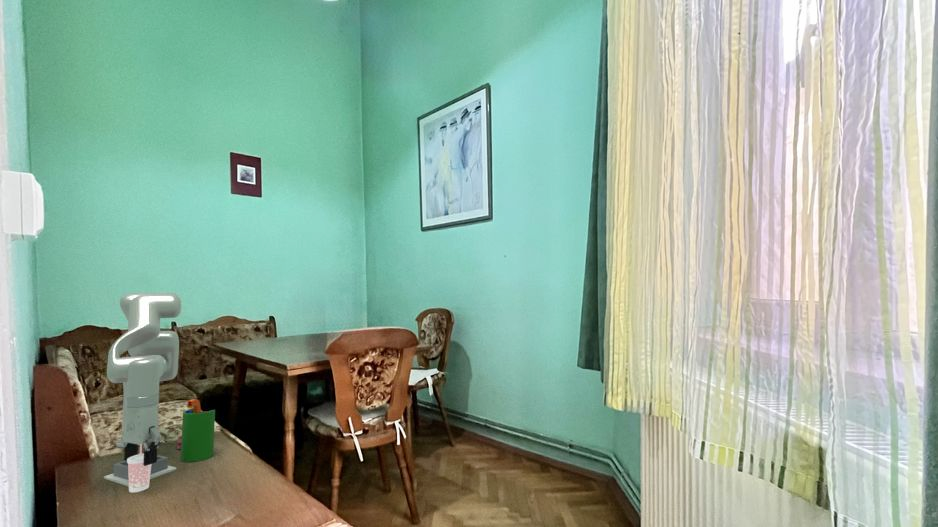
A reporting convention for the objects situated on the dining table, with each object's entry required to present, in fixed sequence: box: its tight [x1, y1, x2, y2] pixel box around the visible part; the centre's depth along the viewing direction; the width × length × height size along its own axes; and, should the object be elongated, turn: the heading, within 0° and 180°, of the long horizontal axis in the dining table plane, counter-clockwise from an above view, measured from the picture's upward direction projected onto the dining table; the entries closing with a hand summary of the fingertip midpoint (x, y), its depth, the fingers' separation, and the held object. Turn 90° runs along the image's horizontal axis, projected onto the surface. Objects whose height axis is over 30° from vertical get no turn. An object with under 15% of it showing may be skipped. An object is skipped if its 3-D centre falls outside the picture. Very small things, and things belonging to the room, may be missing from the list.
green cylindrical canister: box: [180, 398, 216, 463], centre depth 145 cm, size 10×9×20 cm
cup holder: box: [103, 454, 177, 488], centre depth 131 cm, size 14×13×4 cm
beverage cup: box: [127, 444, 151, 493], centre depth 121 cm, size 6×6×14 cm
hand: (140, 461), depth 121 cm, fingers open, 9 cm apart
